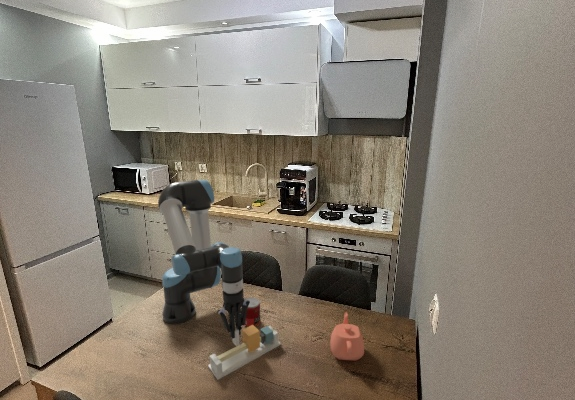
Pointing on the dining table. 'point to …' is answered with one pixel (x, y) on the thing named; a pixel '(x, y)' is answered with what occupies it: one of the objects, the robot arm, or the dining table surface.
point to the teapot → (347, 341)
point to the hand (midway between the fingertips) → (236, 343)
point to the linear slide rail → (243, 354)
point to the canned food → (253, 313)
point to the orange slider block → (251, 337)
